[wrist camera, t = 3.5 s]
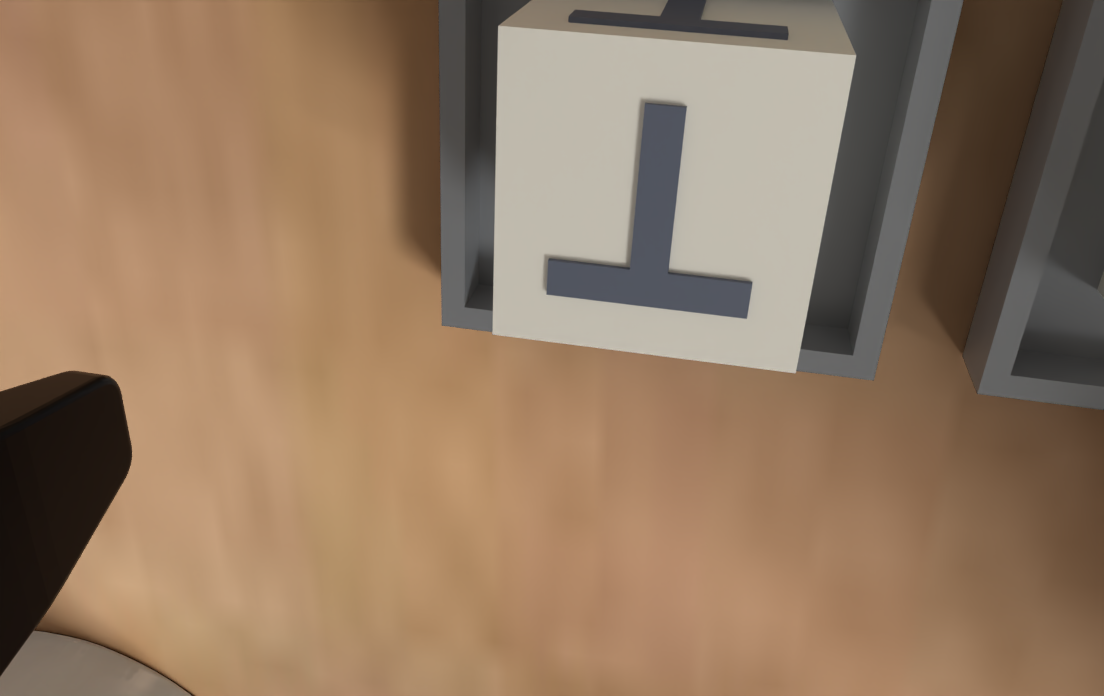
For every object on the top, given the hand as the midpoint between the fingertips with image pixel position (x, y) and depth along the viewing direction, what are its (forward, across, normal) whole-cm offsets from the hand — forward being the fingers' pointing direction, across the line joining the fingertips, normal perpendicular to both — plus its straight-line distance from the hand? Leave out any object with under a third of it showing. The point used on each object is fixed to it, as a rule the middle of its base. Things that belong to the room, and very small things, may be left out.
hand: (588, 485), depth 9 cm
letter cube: (+12, 0, 0) cm, 12 cm away
